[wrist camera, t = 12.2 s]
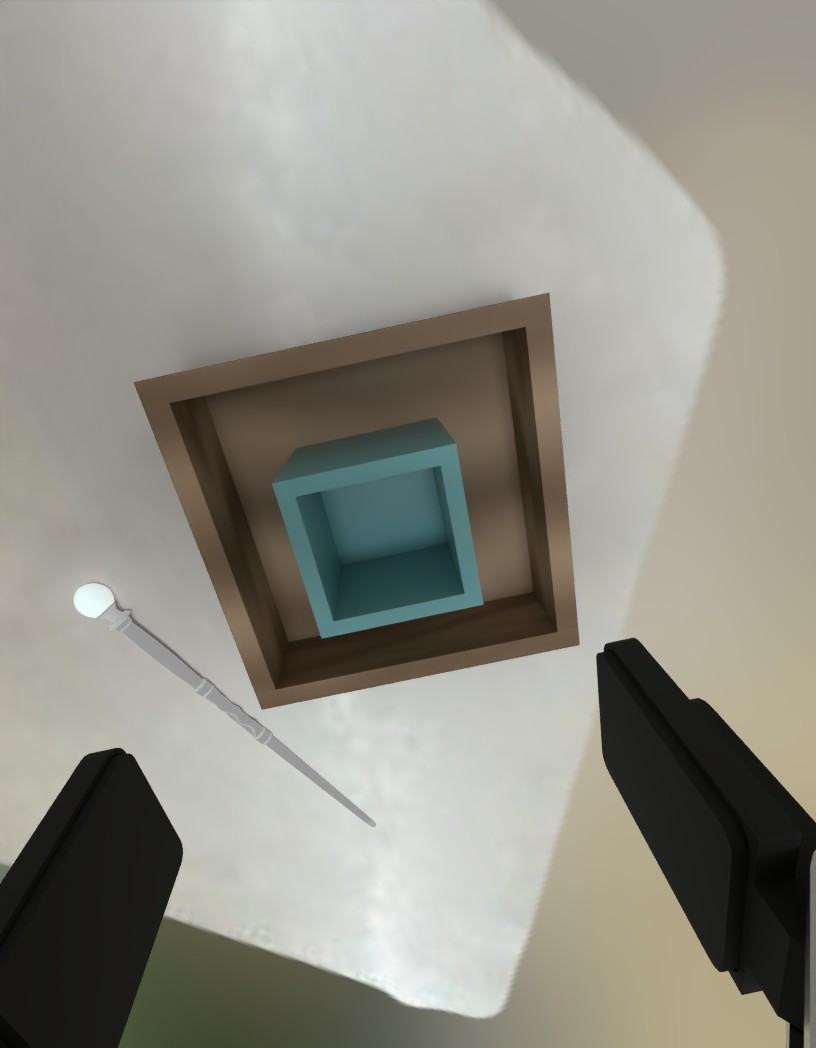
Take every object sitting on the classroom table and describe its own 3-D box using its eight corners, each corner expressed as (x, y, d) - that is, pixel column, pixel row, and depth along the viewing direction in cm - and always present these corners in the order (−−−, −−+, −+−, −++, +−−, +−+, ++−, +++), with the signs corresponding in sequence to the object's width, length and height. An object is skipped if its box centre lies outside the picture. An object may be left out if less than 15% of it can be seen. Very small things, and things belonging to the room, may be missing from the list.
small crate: (295, 448, 24) (271, 483, 19) (437, 417, 24) (456, 443, 18) (332, 574, 27) (321, 638, 21) (460, 547, 27) (483, 604, 21)
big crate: (181, 372, 24) (133, 382, 19) (514, 300, 23) (549, 292, 19) (280, 649, 29) (261, 709, 25) (546, 594, 29) (579, 644, 24)
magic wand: (372, 810, 36) (362, 835, 35) (88, 579, 28) (61, 603, 27) (388, 813, 35) (378, 839, 34) (97, 573, 27) (69, 597, 25)
